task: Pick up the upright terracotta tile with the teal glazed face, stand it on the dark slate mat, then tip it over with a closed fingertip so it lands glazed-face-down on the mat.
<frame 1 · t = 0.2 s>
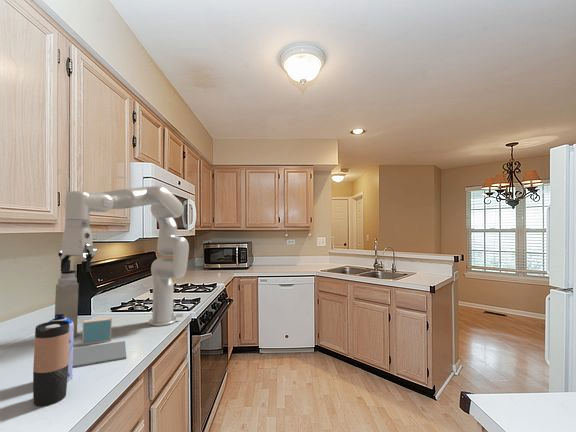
hand: (75, 271, 115), 30 cm above the worktop, tool pointing down, fingers open, 9 cm apart
travel mug: (50, 399, 85), on the worktop
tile: (96, 342, 128), on the worktop
thermos bottle: (65, 337, 134), on the worktop
mat: (91, 355, 115), on the worktop
aerosol can: (57, 380, 96), on the worktop
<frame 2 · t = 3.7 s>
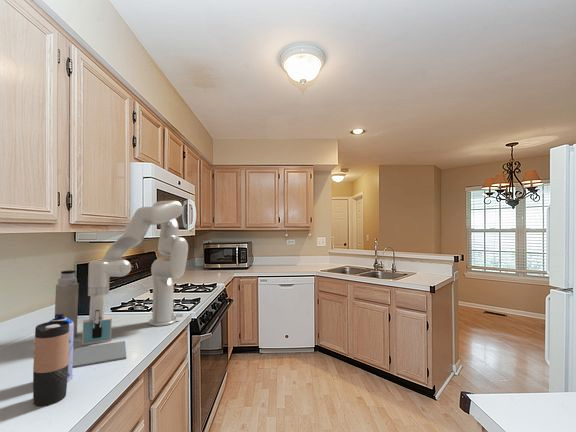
hand: (97, 335, 128), 2 cm above the worktop, tool pointing down, fingers closed on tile, 3 cm apart
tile: (97, 341, 128), on the worktop, touching gripper
everything else where it was.
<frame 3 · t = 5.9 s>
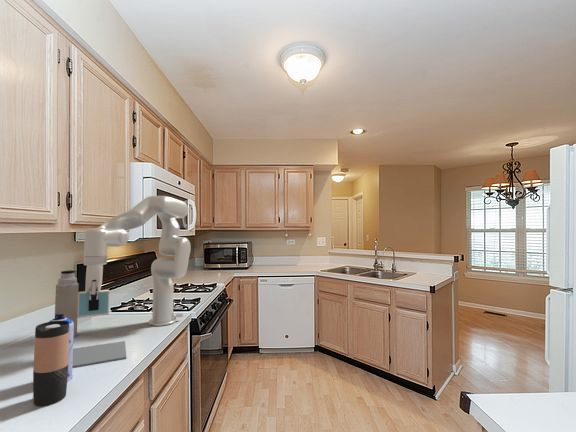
hand: (93, 308, 120), 16 cm above the worktop, tool pointing down, fingers closed on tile, 3 cm apart
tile: (93, 315, 120), point 13 cm above the worktop, touching gripper
everything else where it was.
when the fingers open (4 cm above the worktop, at t = 8.1 s): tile stays where it is, resting on mat.
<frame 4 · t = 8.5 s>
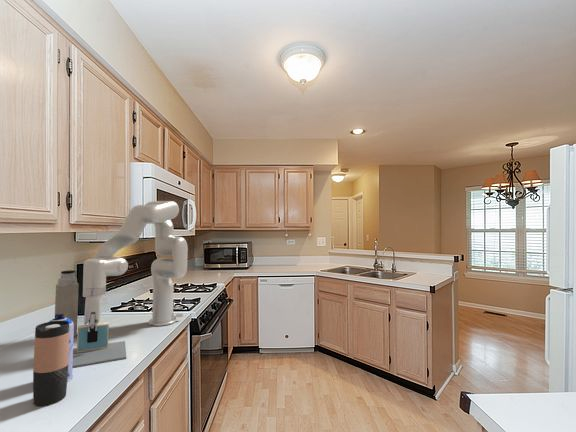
hand: (92, 338, 119), 5 cm above the worktop, tool pointing down, fingers open, 7 cm apart
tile: (92, 348, 119), point 1 cm above the worktop, touching mat
everything else where it was.
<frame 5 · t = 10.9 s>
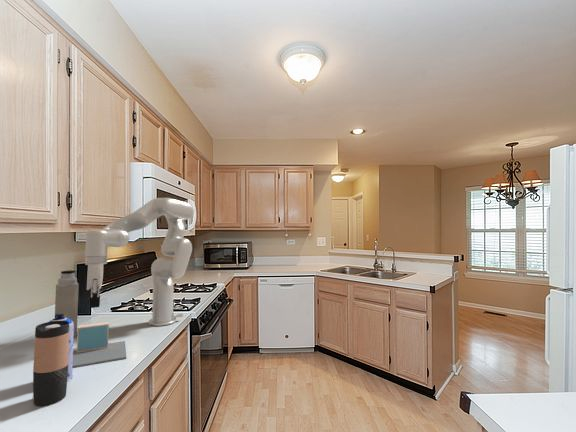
hand: (94, 306, 126), 15 cm above the worktop, tool pointing down, fingers closed
nothing on the worktop moved.
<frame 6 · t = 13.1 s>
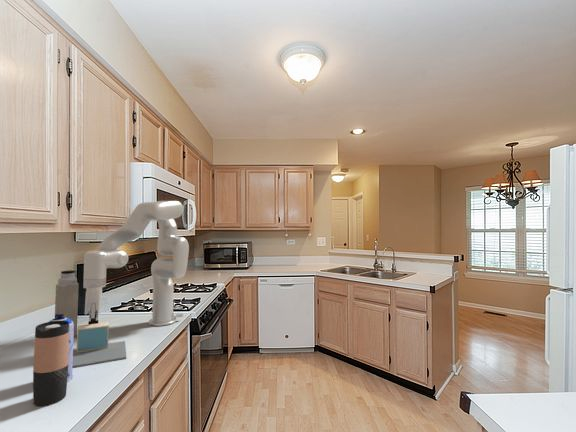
hand: (93, 330, 121), 7 cm above the worktop, tool pointing down, fingers closed
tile: (93, 348, 119), point 1 cm above the worktop, tilted 10°, touching mat
everything else where it was.
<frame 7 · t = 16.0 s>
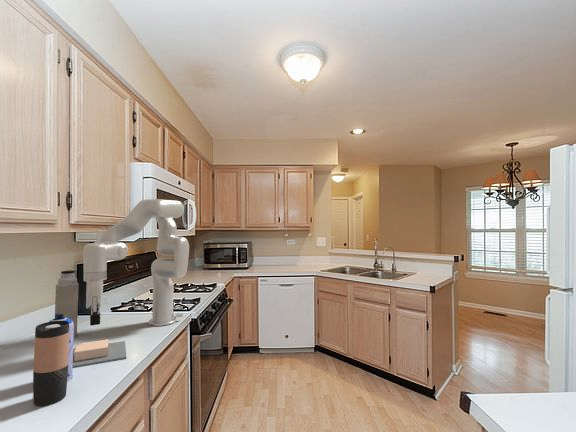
hand: (95, 324, 119), 10 cm above the worktop, tool pointing down, fingers closed
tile: (92, 345, 118), point 2 cm above the worktop, tilted 90°, touching mat
everything else where it was.
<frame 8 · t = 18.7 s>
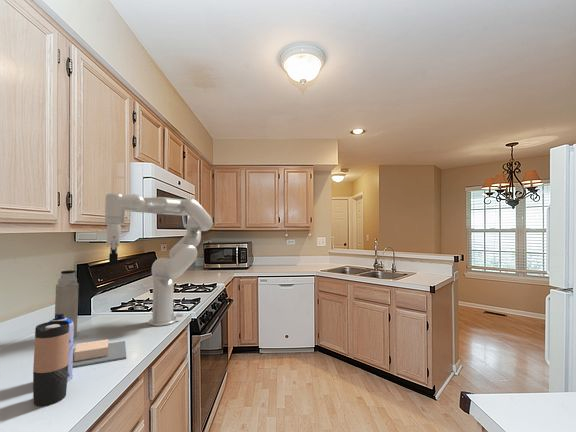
hand: (113, 262, 139), 31 cm above the worktop, tool pointing down, fingers closed
nothing on the worktop moved.
at the end: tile tilted 90°; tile inside the target area on the mat (3.6 cm from its centre), point 2.3 cm above the mat's base; the gripper is holding nothing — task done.
